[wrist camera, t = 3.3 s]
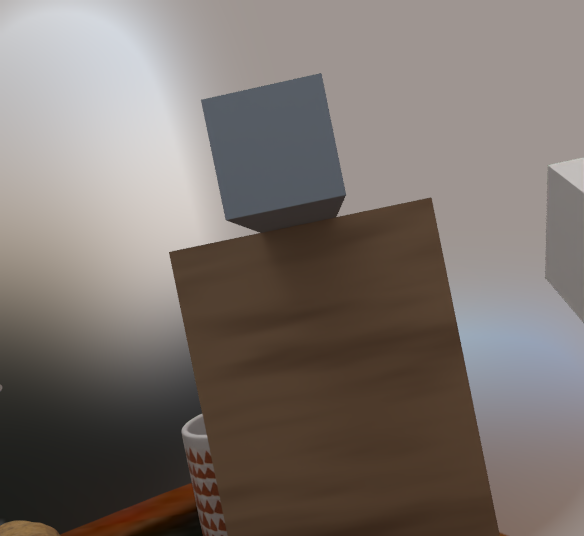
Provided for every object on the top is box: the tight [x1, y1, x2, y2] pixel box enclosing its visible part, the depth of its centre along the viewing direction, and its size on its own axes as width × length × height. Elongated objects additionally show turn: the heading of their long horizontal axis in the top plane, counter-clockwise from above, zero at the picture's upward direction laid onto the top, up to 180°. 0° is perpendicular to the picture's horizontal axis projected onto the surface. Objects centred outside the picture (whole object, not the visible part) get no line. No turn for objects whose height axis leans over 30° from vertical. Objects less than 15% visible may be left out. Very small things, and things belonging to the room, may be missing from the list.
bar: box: [201, 73, 346, 233], centre depth 33 cm, size 30×4×4 cm, turn 177°
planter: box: [182, 414, 228, 536], centre depth 63 cm, size 14×14×13 cm
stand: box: [169, 198, 500, 536], centre depth 39 cm, size 20×14×30 cm
